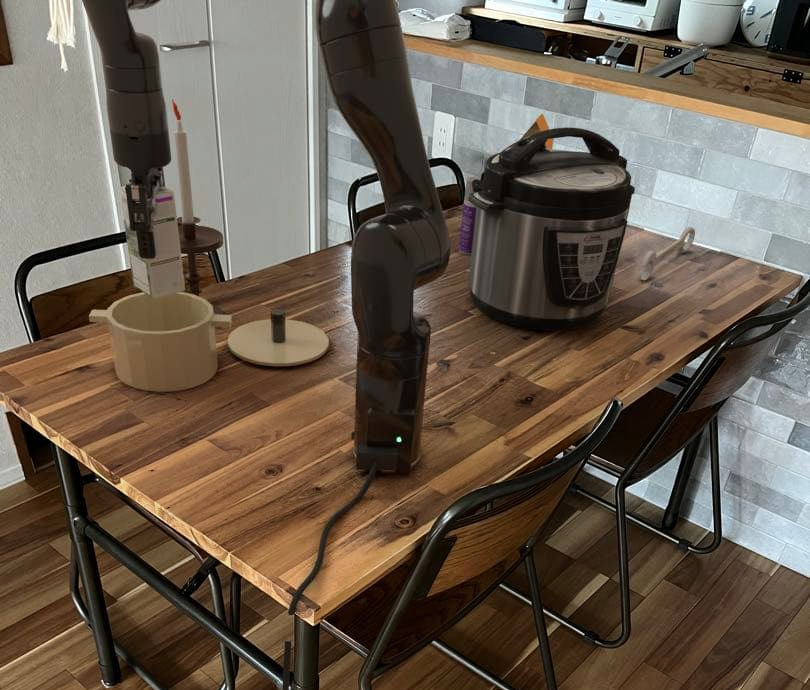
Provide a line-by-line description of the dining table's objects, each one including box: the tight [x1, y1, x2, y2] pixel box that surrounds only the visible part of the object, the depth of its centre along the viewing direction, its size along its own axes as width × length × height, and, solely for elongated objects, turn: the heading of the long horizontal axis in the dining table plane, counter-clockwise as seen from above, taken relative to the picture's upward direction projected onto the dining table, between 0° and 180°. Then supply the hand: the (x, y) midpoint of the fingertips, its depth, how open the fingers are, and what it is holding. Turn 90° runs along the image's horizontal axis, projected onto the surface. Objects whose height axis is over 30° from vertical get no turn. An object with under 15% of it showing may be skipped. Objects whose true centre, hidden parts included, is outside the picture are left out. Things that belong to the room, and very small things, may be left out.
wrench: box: [640, 226, 696, 281], centre depth 183 cm, size 28×2×6 cm, turn 145°
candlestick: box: [171, 98, 224, 315], centre depth 138 cm, size 11×11×35 cm
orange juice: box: [519, 113, 555, 149], centre depth 209 cm, size 8×9×20 cm
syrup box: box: [118, 185, 186, 298], centre depth 121 cm, size 6×6×14 cm
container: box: [458, 176, 481, 256], centre depth 179 cm, size 5×5×15 cm
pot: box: [88, 291, 233, 393], centre depth 131 cm, size 16×21×10 cm
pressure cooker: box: [467, 127, 636, 331], centre depth 153 cm, size 30×28×32 cm
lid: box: [227, 308, 330, 367], centre depth 140 cm, size 17×17×6 cm
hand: (153, 247), depth 122 cm, fingers closed on syrup box, 8 cm apart
